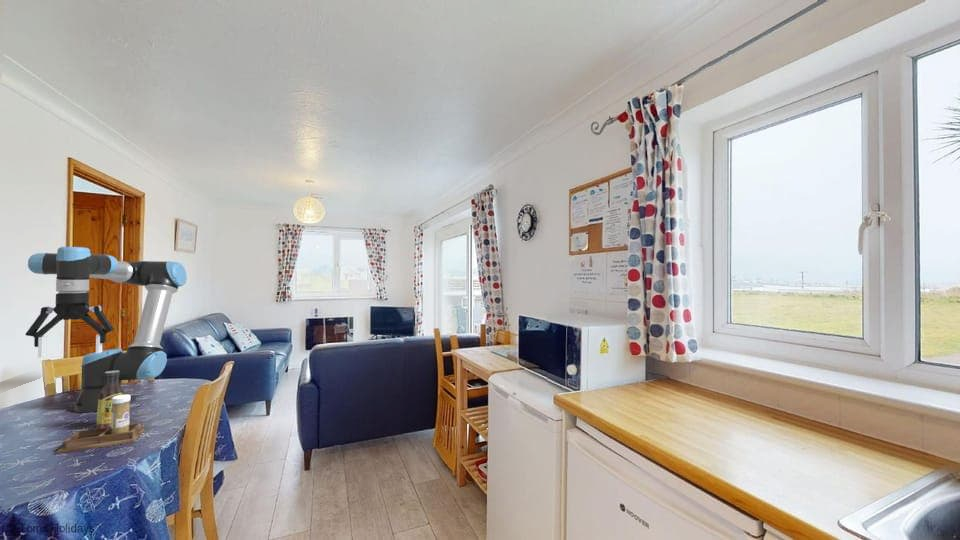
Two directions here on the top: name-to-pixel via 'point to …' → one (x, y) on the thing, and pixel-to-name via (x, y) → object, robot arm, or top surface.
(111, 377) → the sauce bottle
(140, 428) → the slot rack
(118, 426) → the sprinkles bottle
